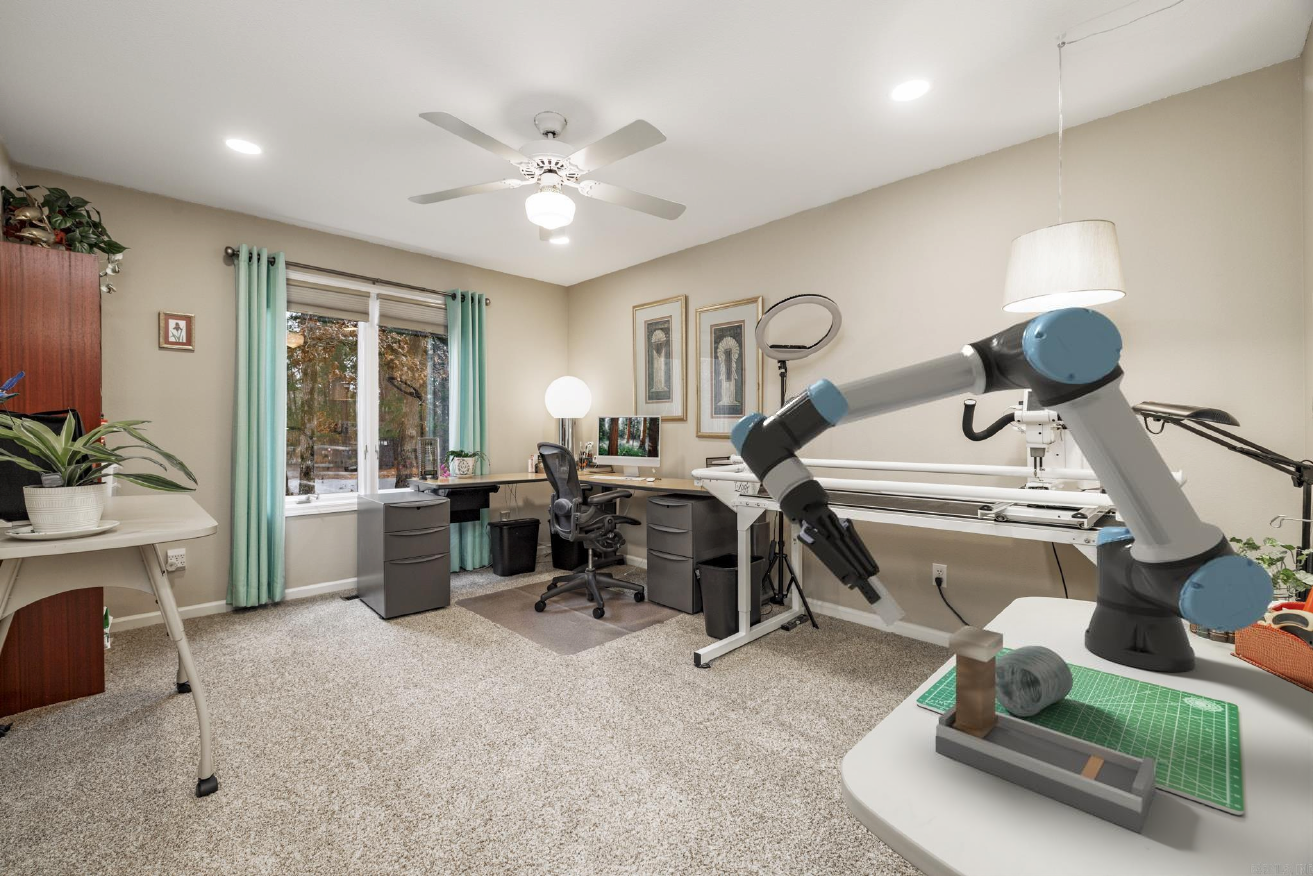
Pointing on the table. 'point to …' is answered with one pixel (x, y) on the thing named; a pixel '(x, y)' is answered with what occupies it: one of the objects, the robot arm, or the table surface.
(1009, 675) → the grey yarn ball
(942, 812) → the table surface
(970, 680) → the block
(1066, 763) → the gray rectangular tray
